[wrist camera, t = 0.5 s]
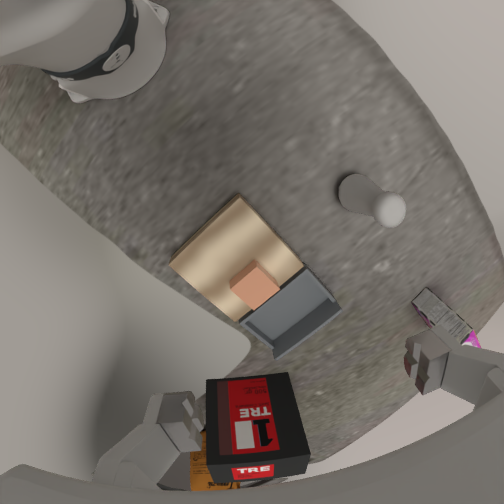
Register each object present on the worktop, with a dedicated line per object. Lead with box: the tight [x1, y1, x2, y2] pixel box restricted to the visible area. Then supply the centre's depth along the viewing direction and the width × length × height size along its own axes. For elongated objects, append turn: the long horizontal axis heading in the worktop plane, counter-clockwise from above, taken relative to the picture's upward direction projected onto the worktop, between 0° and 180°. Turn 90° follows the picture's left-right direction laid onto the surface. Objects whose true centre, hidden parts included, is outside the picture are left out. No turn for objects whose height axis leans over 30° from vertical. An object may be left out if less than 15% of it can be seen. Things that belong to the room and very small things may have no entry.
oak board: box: [169, 193, 304, 322], centre depth 43 cm, size 14×14×3 cm
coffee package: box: [190, 430, 240, 491], centre depth 53 cm, size 10×12×22 cm
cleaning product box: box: [206, 372, 311, 483], centre depth 48 cm, size 16×9×20 cm, turn 92°
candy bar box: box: [411, 287, 481, 348], centre depth 46 cm, size 11×5×16 cm, turn 47°
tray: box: [239, 262, 343, 361], centre depth 47 cm, size 9×14×5 cm, turn 132°
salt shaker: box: [338, 174, 406, 228], centre depth 36 cm, size 6×6×13 cm
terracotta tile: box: [229, 259, 280, 310], centre depth 42 cm, size 5×5×2 cm
